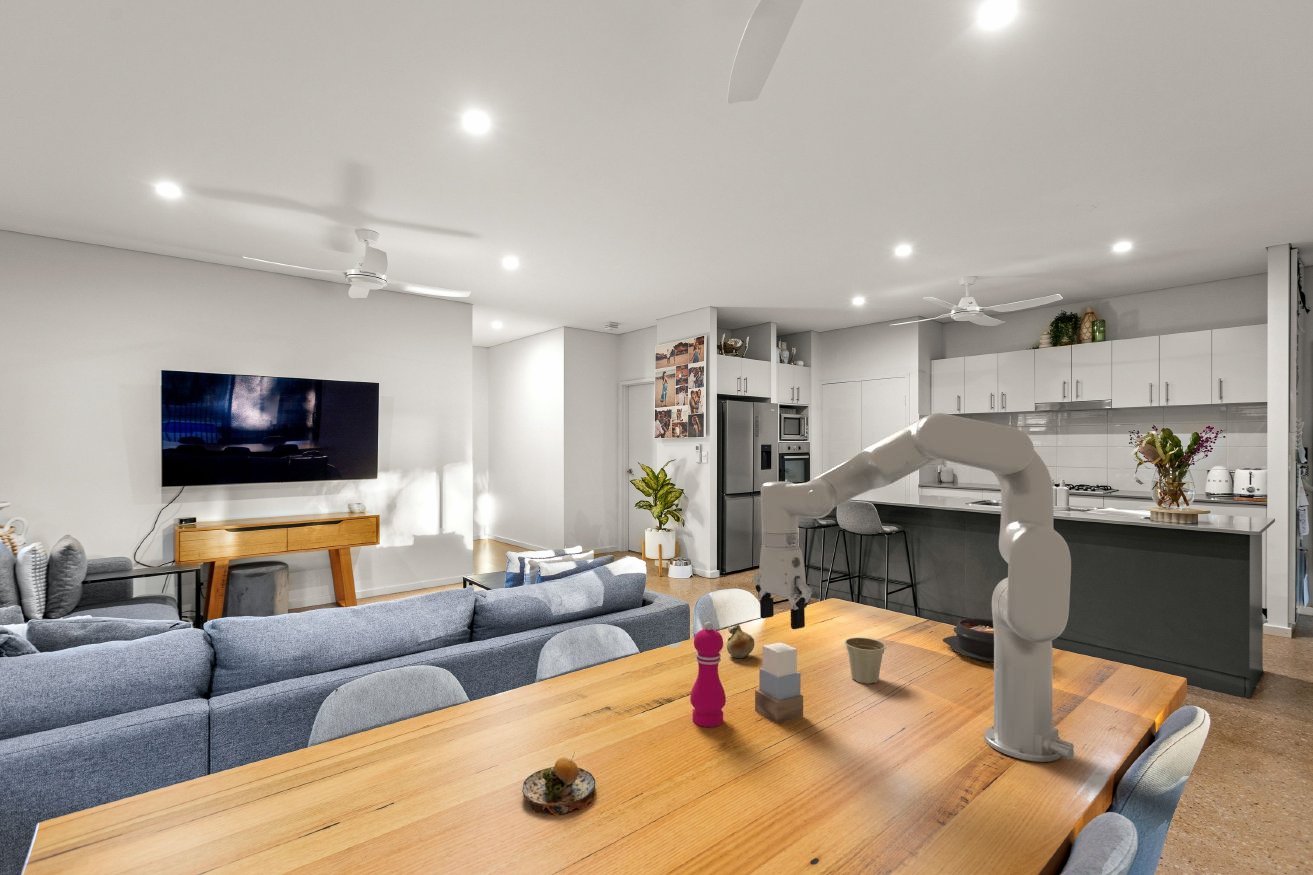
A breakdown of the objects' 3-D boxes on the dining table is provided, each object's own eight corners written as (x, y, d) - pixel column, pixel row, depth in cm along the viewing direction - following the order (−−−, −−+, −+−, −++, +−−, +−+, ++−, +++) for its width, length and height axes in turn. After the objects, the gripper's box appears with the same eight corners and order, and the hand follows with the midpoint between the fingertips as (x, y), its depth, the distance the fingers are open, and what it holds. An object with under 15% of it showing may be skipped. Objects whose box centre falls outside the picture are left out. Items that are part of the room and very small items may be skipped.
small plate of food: (562, 768, 110) (562, 725, 110) (611, 792, 102) (611, 746, 102) (505, 797, 100) (506, 750, 100) (555, 826, 93) (555, 775, 93)
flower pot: (891, 687, 147) (891, 650, 147) (850, 686, 147) (851, 649, 147) (878, 672, 156) (878, 637, 156) (840, 672, 156) (840, 637, 157)
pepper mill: (723, 730, 124) (724, 628, 124) (687, 726, 126) (688, 625, 126) (727, 714, 131) (728, 618, 131) (692, 711, 133) (693, 615, 133)
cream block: (796, 672, 131) (796, 648, 131) (778, 677, 129) (778, 652, 129) (780, 665, 136) (780, 642, 136) (762, 669, 133) (762, 645, 133)
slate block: (800, 694, 131) (800, 672, 131) (777, 700, 128) (778, 677, 128) (781, 684, 136) (781, 663, 136) (759, 689, 134) (759, 668, 134)
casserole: (926, 646, 177) (926, 616, 177) (976, 639, 184) (977, 611, 184) (1002, 677, 154) (1002, 643, 154) (1057, 669, 160) (1057, 635, 160)
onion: (722, 660, 164) (723, 629, 164) (728, 650, 172) (728, 621, 172) (752, 663, 162) (752, 632, 162) (756, 653, 170) (756, 623, 170)
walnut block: (803, 717, 131) (803, 695, 131) (777, 724, 127) (777, 702, 127) (780, 704, 137) (780, 684, 137) (755, 711, 133) (755, 690, 133)
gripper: (822, 543, 127) (825, 629, 126) (767, 534, 142) (769, 611, 142) (794, 547, 123) (796, 635, 123) (740, 537, 138) (742, 616, 138)
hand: (782, 622), depth 132 cm, fingers open, 9 cm apart
